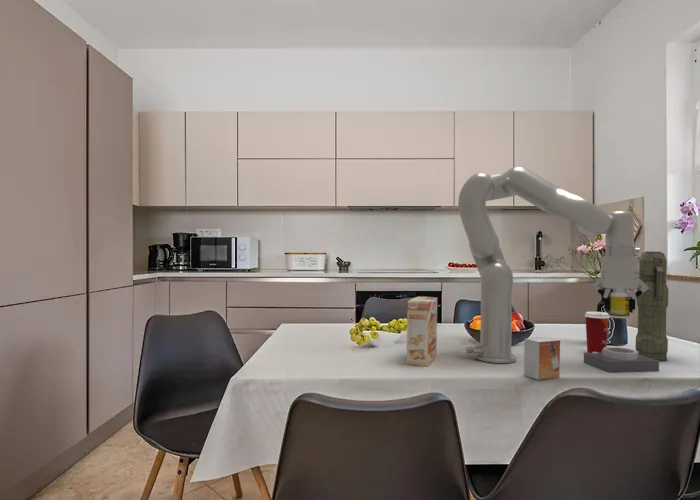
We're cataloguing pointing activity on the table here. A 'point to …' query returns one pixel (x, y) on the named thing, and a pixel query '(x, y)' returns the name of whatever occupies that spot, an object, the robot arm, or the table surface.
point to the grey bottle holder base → (620, 360)
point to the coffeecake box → (421, 330)
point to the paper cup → (596, 331)
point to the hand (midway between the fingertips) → (619, 311)
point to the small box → (542, 358)
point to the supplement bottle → (619, 304)
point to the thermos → (652, 307)
